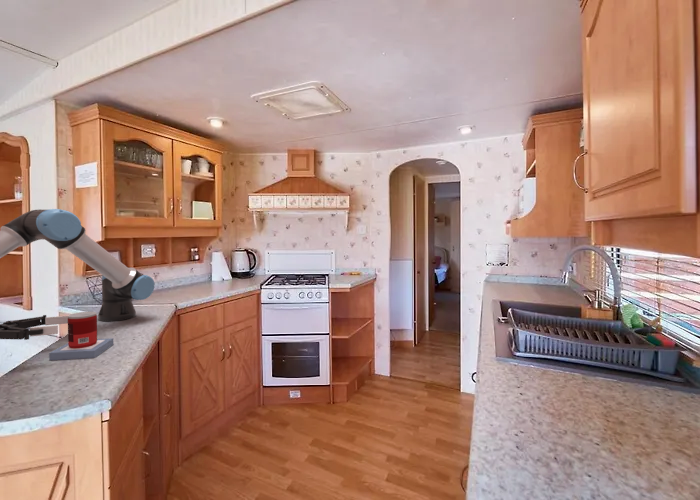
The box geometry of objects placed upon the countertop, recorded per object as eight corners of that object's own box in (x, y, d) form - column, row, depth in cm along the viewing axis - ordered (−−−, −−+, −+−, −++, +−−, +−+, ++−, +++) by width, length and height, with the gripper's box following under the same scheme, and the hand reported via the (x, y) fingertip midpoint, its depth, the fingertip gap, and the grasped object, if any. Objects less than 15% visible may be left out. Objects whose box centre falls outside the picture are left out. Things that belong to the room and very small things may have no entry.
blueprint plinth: (73, 346, 119) (73, 339, 119) (113, 344, 122) (113, 338, 122) (49, 360, 106) (49, 352, 106) (94, 357, 109) (94, 350, 109)
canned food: (102, 341, 118) (102, 311, 117) (82, 349, 110) (81, 317, 109) (83, 340, 119) (83, 310, 118) (62, 348, 111) (61, 316, 110)
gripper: (-5, 332, 112) (74, 325, 122) (-49, 357, 90) (51, 346, 100) (-6, 311, 112) (73, 305, 122) (-50, 330, 90) (51, 322, 100)
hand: (64, 324), depth 111 cm, fingers open, 13 cm apart
